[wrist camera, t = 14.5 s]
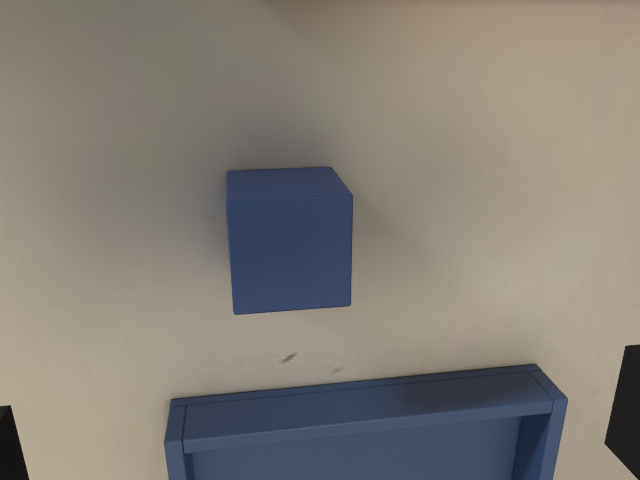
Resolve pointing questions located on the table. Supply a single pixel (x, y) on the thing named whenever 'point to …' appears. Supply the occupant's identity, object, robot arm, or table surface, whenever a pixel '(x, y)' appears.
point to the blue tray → (375, 430)
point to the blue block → (289, 239)
